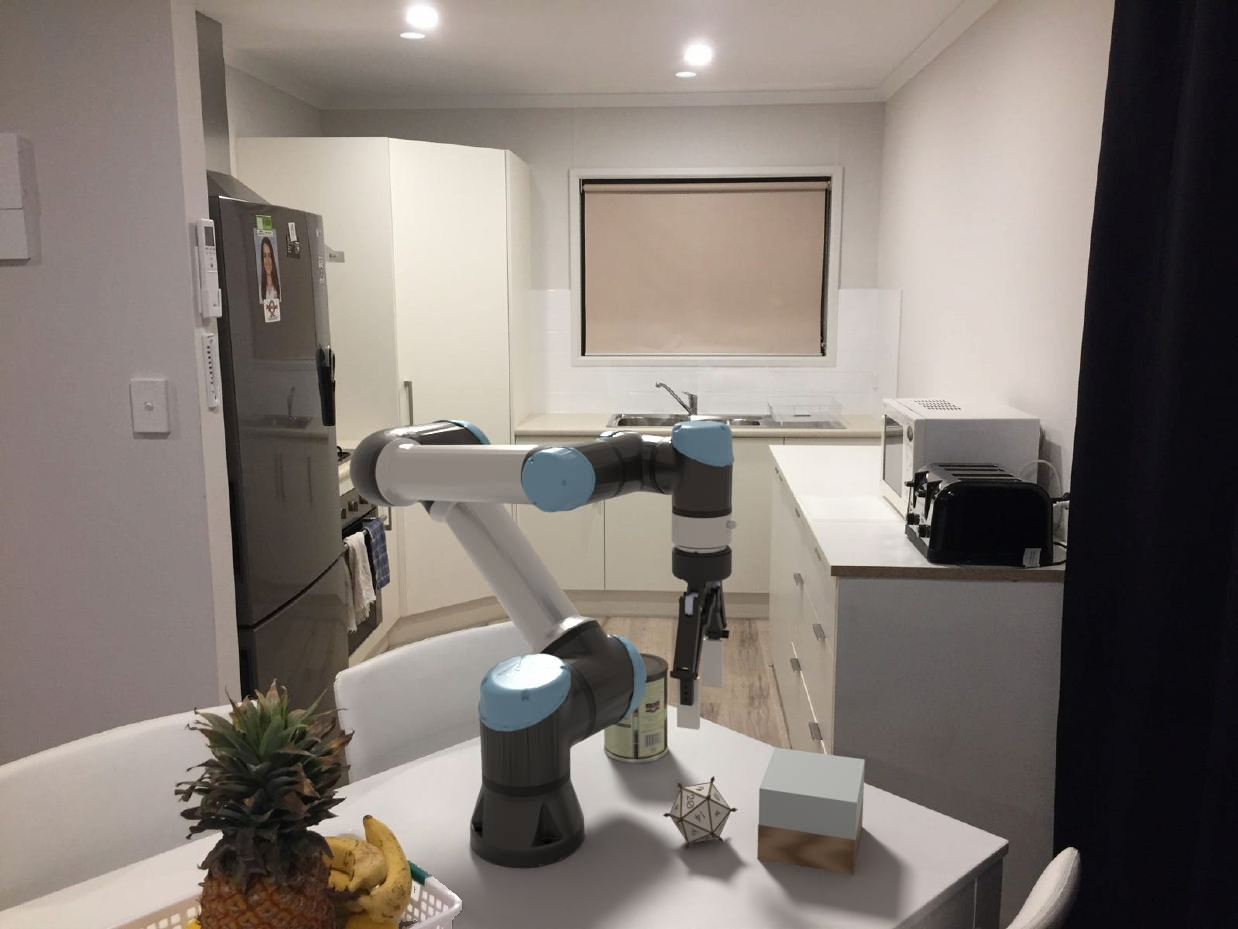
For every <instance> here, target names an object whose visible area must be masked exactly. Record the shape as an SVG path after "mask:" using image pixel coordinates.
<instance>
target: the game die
mask: <svg viewBox="0 0 1238 929" xmlns="http://www.w3.org/2000/svg"><path fill="white" fill-rule="evenodd" d="M715 780H716V779H715V776H714V775H713V776H712V777H711V778H710V781H708V782H707V781H706V782H702V783H698V784H692V785H691V784H690V785H684V786H683V785H682V783H681V782H678V781H677V787H678V788H679V791H678V792H677V795H676V798H675V801H674V802H673V805H672V807H671V810H670V811H669V812H665V813H664V814H663V815H662V816H663V817H665V818H669V817H670V819H671V820H672V822H673V823H674V825H675V826H676V828H677V829H678V831H679V833H680V834H681V835H682V837H683V839H684V840H685V841H686V843H685V845H684V848H685V849H684V850H688V849H689V848H690V844H694V843H699V842H700V843H701V842H704V841H709V840H715V839H717V841H718V842H719V843H724V842H723V838H722V837H721V835H722V833H723V830H724V828H725V825H726V824H727V821H728V819H729V816H730V814H731V812H732V813H736V811H738V809H739V808H736V807H732V808H731V807H730V806H729V805H728V803H727V801H726V800H725V798H724V797H723V795H722V794H721V793H720V792H719V790H718V788H717V787H716V785H715V784H714V782H715Z"/></svg>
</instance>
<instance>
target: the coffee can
mask: <svg viewBox="0 0 1238 929" xmlns="http://www.w3.org/2000/svg"><path fill="white" fill-rule="evenodd" d="M639 653H640V655H641V657H642V659H643V662H644V666H645V670H646V681H645V687H646V690H645V694H644V697H643V699H642V702H641V703H640V705H639V706H638V708H637V709H636V710H635V711H634V712H632V713H631V714H629V715H628V716H626V717H625V718H624V719H623V720H622V721H621V722H619V723H618V724H616V725H612V726H609V727H607V728H605V729H603V736H604V738H603V739H604V741H603V742H604V744H603V751H604V753H605V754H606V755H607V757H609V758H611V759H613V760H615V761H618V762H621V763H622V762H623V763H628V764H645V763H649V762H654V761H657V760H659V759H661V758H663V757H664V756H665V755H666V754H667V753H668V750H669V746H668V732H669V731H668V670H669V663H668V661H667V660H666V659H665V658H662V657H660V656H658V655H654V654H651V653H643V652H639Z"/></svg>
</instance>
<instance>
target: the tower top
mask: <svg viewBox="0 0 1238 929" xmlns="http://www.w3.org/2000/svg"><path fill="white" fill-rule="evenodd" d="M865 761H866V760H865V759H863V758H855V757H850V756H849V757H848V756H840V755H833V754H825V753H818V752H811V751H804V750H798V749H796V750H795V749H790V748H781V747H774V750H773V752H772V755H771V757H770V760H769V763H768V765H767V768H766V770H765V773H764V775H763V778H762V780H761V782H760V786H759V791H758V796H759V797H758V824H759V825H762V826H769V827H775V828H781V829H787V830H794V831H800V832H806V833H812V834H819V835H825V836H831V837H838V838H844V839H850V840H856V835H857V829H858V823H859V817H860V812H861V806H862V800H863V801H864V791H865V790H864V789H865V788H864V787H865V786H864V785H865V767H866V765H865V764H866V762H865Z"/></svg>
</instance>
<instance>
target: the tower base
mask: <svg viewBox="0 0 1238 929" xmlns="http://www.w3.org/2000/svg"><path fill="white" fill-rule="evenodd" d="M863 814H864V799H863V800H862V806H861V812H860V817H859V823H858V829H857V835H856V840H850V839H844V838H838V837H831V836H825V835H819V834H812V833H806V832H800V831H794V830H787V829H781V828H775V827H769V826H762V825H759V823H758V824H757V859H758V860H763V861H764V860H765V861H771V862H777V863H782V864H787V865H792V866H799V867H804V868H805V867H806V868H809V869H810V868H811V869H817V870H823V871H826V872H827V871H828V872H832V873H833V872H834V873H839V874H845V875H851V876H854V875H855V869H856V863H857V857H858V853H859V852H858V851H859V847H860V840H861V835H862V831H863V830H862V829H863V819H864V818H863V817H864V816H863Z"/></svg>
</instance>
